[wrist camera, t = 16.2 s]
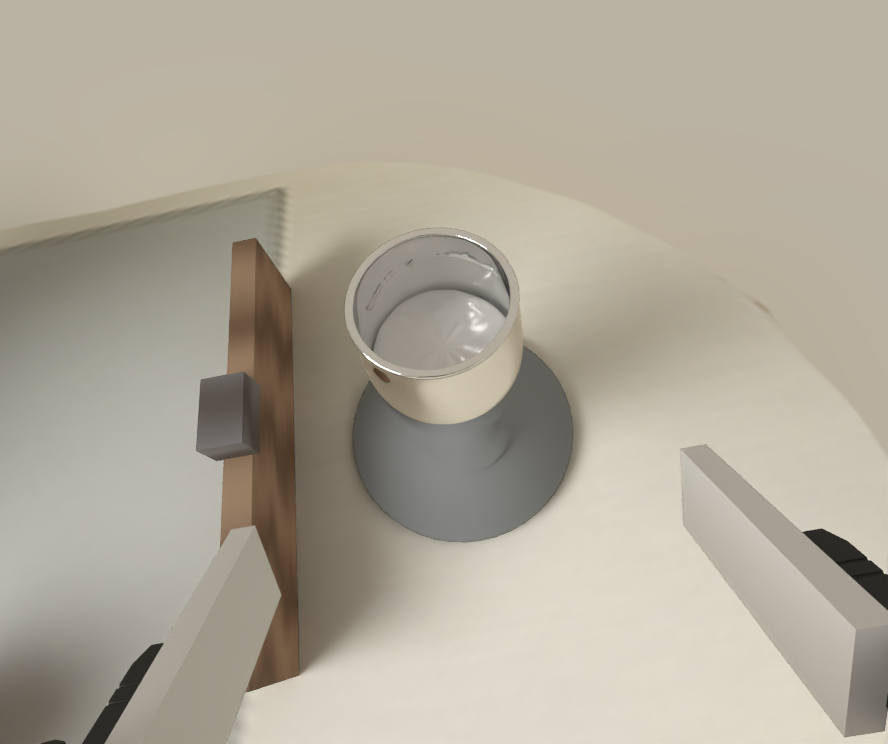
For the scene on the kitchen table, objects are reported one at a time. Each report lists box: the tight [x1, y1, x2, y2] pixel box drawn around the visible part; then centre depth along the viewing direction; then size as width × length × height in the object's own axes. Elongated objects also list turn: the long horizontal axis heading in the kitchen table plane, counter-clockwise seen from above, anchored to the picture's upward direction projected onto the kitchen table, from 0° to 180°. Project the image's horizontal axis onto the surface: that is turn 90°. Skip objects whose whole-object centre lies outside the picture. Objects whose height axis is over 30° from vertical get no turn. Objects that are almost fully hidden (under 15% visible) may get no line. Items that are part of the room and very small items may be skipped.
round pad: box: [353, 346, 573, 542], centre depth 33 cm, size 14×14×1 cm
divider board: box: [196, 238, 299, 692], centre depth 30 cm, size 26×2×8 cm, turn 9°
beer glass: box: [344, 228, 523, 473], centre depth 25 cm, size 7×7×15 cm
